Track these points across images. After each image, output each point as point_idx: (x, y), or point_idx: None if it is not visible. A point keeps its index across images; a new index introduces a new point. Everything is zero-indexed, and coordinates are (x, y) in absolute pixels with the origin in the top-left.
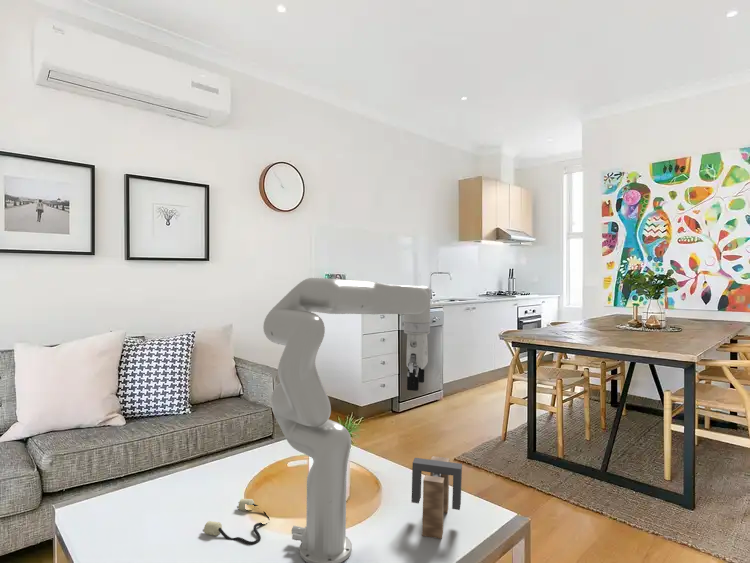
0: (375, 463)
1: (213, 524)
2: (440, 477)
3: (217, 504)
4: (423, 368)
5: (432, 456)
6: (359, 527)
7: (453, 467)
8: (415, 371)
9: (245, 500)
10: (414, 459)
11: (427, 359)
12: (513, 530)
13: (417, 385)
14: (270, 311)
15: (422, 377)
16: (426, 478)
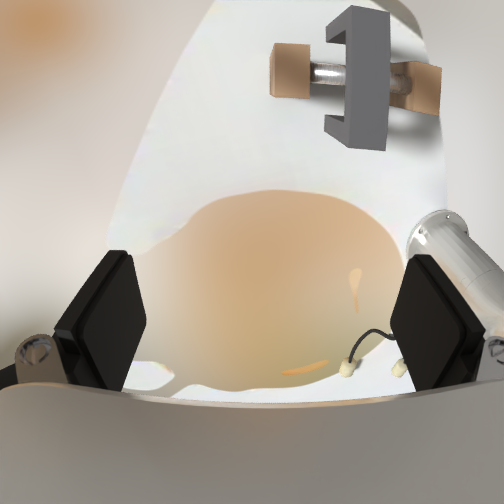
0: (125, 248)
1: (405, 371)
2: (416, 70)
3: (339, 388)
4: (55, 344)
5: (278, 96)
6: (379, 213)
7: (386, 31)
8: (118, 380)
9: (351, 372)
10: (363, 147)
11: (22, 446)
12: None
13: (445, 281)
14: None
15: (116, 286)
16: (429, 107)
